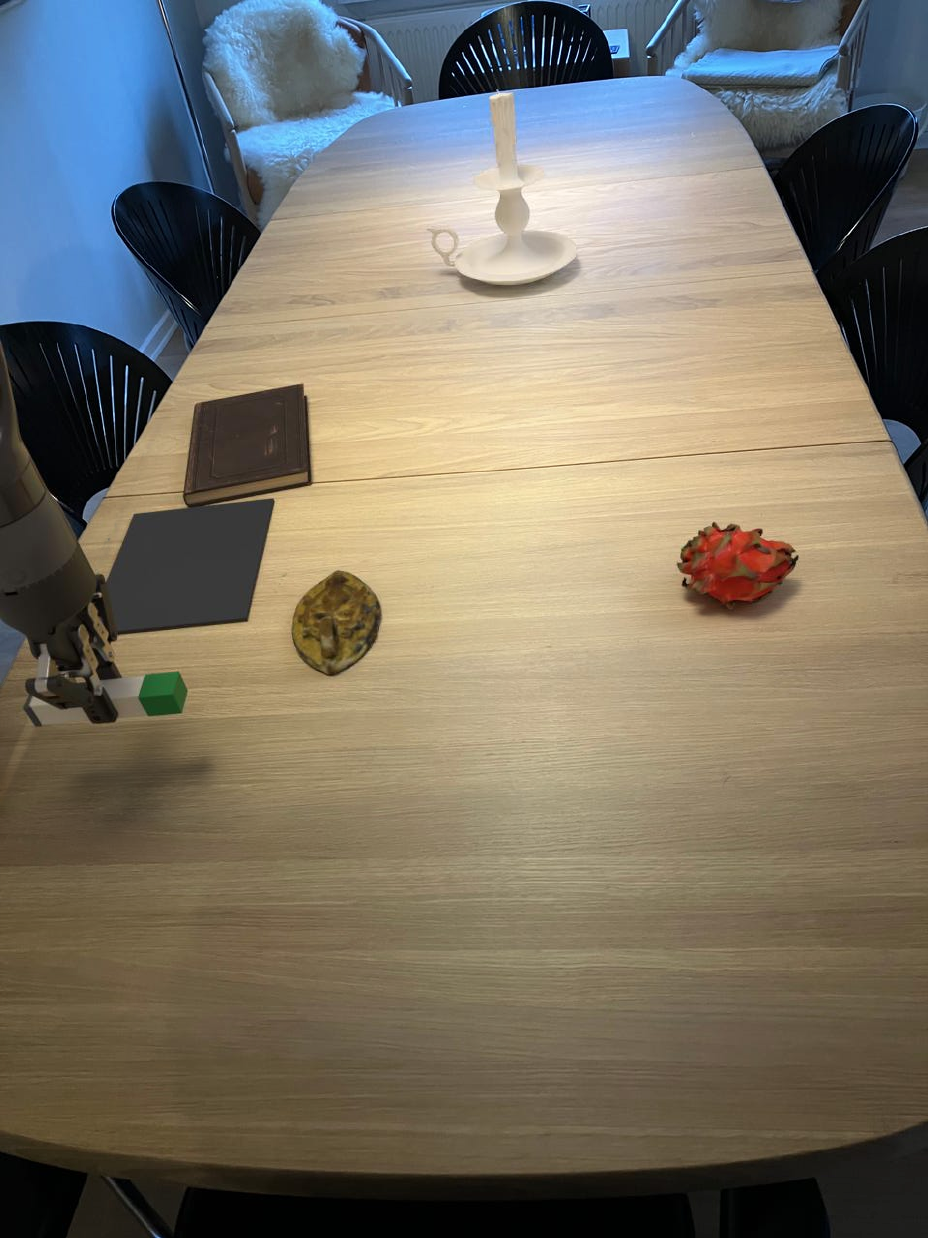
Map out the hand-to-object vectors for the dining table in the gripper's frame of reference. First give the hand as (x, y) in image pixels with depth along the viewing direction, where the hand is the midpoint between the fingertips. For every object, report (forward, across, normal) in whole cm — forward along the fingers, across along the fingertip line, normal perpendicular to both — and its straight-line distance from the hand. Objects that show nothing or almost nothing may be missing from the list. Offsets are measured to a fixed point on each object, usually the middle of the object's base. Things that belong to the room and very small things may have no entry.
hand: (110, 706), depth 80 cm
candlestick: (+9, -101, +39) cm, 109 cm away
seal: (+9, -17, +17) cm, 25 cm away
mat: (+9, -30, -2) cm, 31 cm away
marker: (0, 0, 0) cm, 0 cm away
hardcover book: (+9, -54, +2) cm, 55 cm away
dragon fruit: (+8, -16, +58) cm, 60 cm away
